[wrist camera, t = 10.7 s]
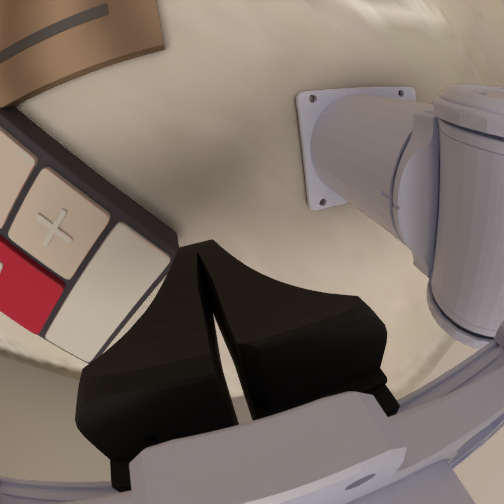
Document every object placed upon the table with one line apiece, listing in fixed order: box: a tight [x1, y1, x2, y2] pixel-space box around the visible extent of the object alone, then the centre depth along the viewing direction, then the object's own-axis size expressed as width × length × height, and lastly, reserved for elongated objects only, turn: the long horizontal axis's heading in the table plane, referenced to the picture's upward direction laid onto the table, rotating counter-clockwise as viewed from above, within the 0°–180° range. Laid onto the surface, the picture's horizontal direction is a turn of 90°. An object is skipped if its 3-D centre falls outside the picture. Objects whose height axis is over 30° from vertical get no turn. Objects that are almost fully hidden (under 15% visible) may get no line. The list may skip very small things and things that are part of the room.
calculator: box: [0, 107, 179, 364], centre depth 16 cm, size 11×4×15 cm
